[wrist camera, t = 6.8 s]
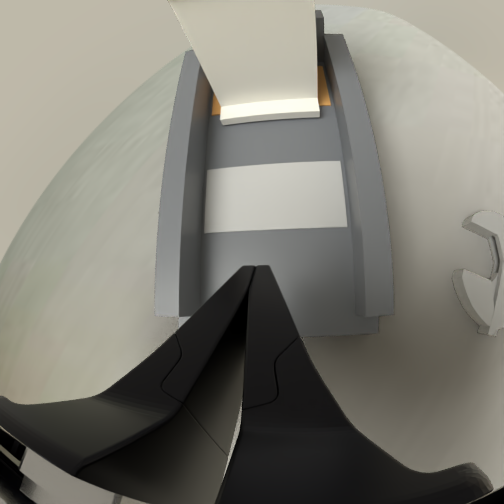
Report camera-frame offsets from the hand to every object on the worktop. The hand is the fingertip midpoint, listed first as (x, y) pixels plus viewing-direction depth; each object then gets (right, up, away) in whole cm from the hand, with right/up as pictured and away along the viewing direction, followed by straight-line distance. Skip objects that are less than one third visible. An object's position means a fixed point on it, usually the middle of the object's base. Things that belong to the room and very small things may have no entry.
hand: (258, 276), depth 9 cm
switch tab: (+1, +11, +7) cm, 13 cm away
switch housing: (+1, +5, +7) cm, 9 cm away
